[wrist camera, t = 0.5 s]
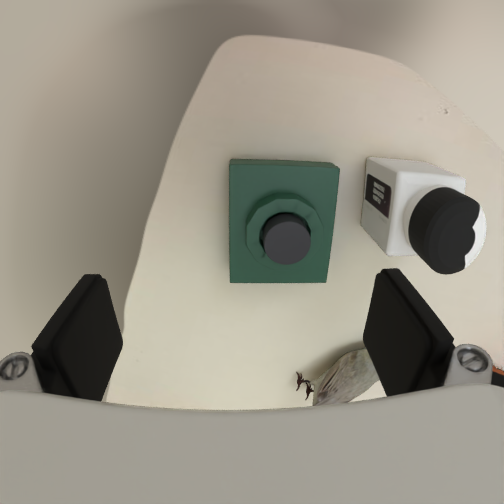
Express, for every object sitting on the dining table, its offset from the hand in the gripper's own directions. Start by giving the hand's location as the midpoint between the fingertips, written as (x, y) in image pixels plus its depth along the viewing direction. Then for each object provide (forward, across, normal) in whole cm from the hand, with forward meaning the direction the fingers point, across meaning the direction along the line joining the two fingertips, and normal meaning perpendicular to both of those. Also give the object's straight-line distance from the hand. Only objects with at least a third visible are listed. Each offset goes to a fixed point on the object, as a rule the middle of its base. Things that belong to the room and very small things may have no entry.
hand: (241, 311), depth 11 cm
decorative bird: (+23, -14, +25) cm, 37 cm away
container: (+23, -16, +2) cm, 28 cm away
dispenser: (+22, -4, +5) cm, 23 cm away
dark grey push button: (+18, -4, +5) cm, 19 cm away
